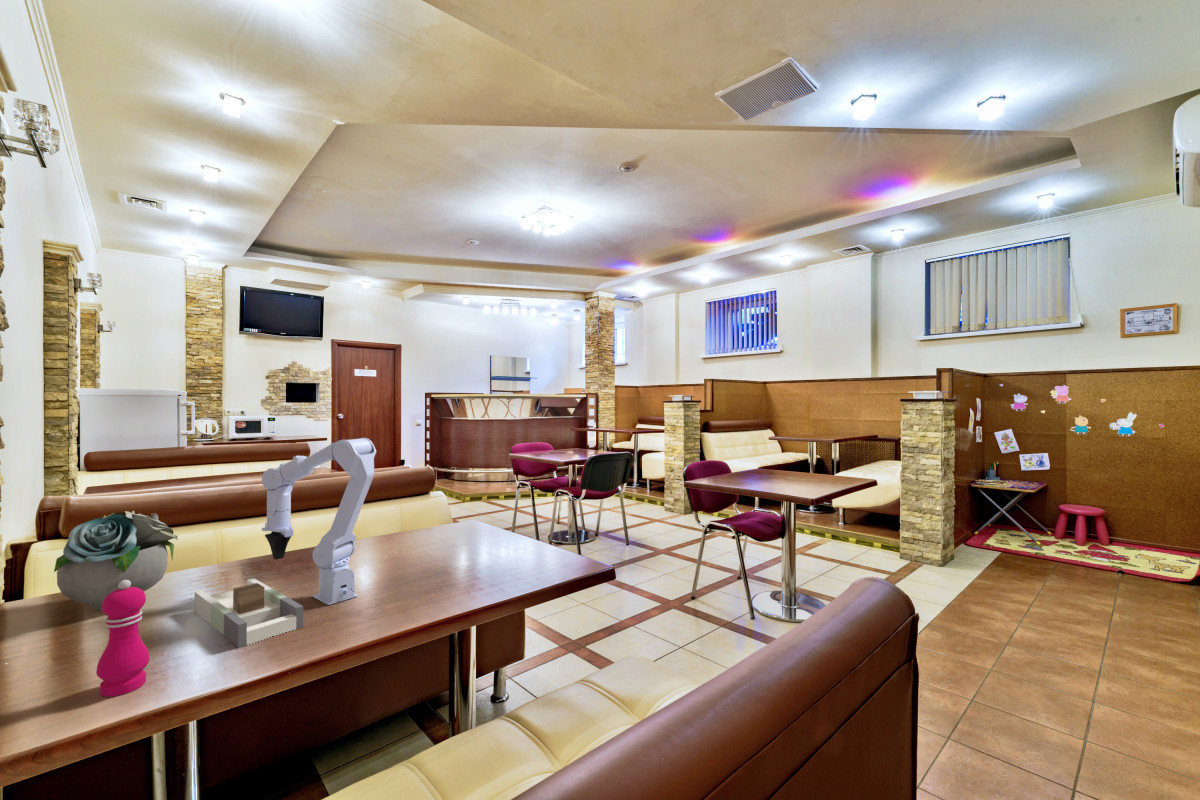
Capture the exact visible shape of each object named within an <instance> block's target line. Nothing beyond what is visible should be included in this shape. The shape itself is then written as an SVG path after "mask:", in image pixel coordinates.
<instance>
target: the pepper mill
mask: <svg viewBox="0 0 1200 800" xmlns="http://www.w3.org/2000/svg"><path fill="white" fill-rule="evenodd" d="M130 586H131V582H130V581H129V580H123V581H121V582H120V583H119V584H118V588H119V589H117V590H115V591H113V592H111V593H110V594H109V595H107V596H106V597H105V599H104V601H103V603H102V610H101V611H102V613H103V614H104V615H106V616H107V617H106V618H105V624H104V626H105V627H106V628H108V630H109V631H108V632H109V634H108V642H107V644H106V647H105V649H104V650H103V653H102V654H101V655H100V657H99V660H98V663H97V666H96V670H95V671H96V673H95V674H96V676H97V677H98V678H99V679H100V680H102V681H101V682H100V683H99V695H100V696H102V697H105V698H106V697H107V698H111V697H117V696H122V695H124V694H128V693H131V692H133V691H136V690H138V689H139V688H141V687H143V685H145V683H146V682H147V671H145V670H144V669H145V668H146V667H147V665H148V664H149V663H150V652H149V649H148V647H147V645H146V644H145V643H144V641H143V640H142V638H141V635H140V632H139V626H140V625H139V623H140V621H141V620H142V619H143V616H142V614H143V611H142V610H141V609H142V608H143V607H144V606H145V604H146V601H147V596H146V593H145V591H143V590H141V589H139V588H137V587H130Z"/></svg>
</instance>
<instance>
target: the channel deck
mask: <svg viewBox="0 0 1200 800" xmlns="http://www.w3.org/2000/svg"><path fill="white" fill-rule="evenodd" d="M254 583H258V584H260V585H261V586H263V587H264V608H261V609H258V610H254V611H250V612H247V613H243V614H239V613H238V612H236V611H235V610H234V609H233V589H232V590H231V589H230V590H228V591H227V590H226V591H224V592H219V593H216V594H211V595H210V594H208V592H207V593H206V591H204V590H203V589H200V590H196V591H194V597H193V598H194V602H193V603H194V610H193V611H194V612H195V613H196V614H197V615H198V616H200V618H202V619H203V620H204V621H205V622H207V623H208V624H209V625H210V626H211V627H212V628H213V629H215V630H216V631H217V632H218V633H220V634H221V635H222V636H224V638H226V639H227V640H228V641H230V643H231V644H233V645H234V646H235V645H236V646H235V647H237V648H238V649H240V647H241V648H243V646H244V647H246V645H247V646H250V645H253V644H255V642H256V643H259V642H262V641H265V640H267V639H266V638H268V639H270V638H269V637H271V638H273V637H272V636H275V637H277V636H276V635H278V636H280V635H279V634H281V635H283V634H282V633H284V634H286V633H285V632H287V633H289V631H290V632H293V631H296V630H299V629H302V628H304V606H303V605H302V604H300V603H298V602H297V601H295V600H293V599H292V598H290V597H289V596H286V595H285V594H282V593H281V592H279V591H277V590H276V589H274V588H272V587H270V586H269V585H266V584H265V583H264V582H261V581H259V580H258V579H256V578H254V577H251V578H247V579H246V585H250V584H254ZM292 630H293V631H292ZM264 639H265V640H264ZM261 640H262V641H261ZM258 641H259V642H258ZM252 643H253V644H252ZM249 644H250V645H249Z"/></svg>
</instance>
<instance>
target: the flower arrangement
mask: <svg viewBox="0 0 1200 800" xmlns="http://www.w3.org/2000/svg"><path fill="white" fill-rule="evenodd" d="M150 515H151V516H149V515H145V514H142V513H135V510H132V512H131V511H126V510H125V511H124V512H122V511H121V512H119V511H118V512H113V513H111V514H109V515H107V516H106V515H105V514H104V515H103V516H100V517H98V518H94V519H92V520H89V521H86V522H83V523H81V524H78V525H77V526H75V527H74V528H73V529H72V530H71V531H70V532H69V535H68V538H67V539H68V540H67V541H66V542H65V545H64V547H63V550H62V551H63V554H61V556H59V557H56V560H55V565H54V570H53V573H56V584H57V587H58V589H59V591H60V592H61V594H62V595H63V596H64V597H66V598H69V599H70V600H72V601H75V602H77V603H84V604H89V605H90V607H91V609H93V610H95V609H99V610H98V611H102V610H101V609H102V603H103V601H104V599H105V597H106V596H107V595H109V594H110V593H111V592H113V591H115V590H117V589H119V588H118V584H119V583H120V582H121V581H123V580H129V581H130V582H131V586H130V587H137V588H139V589H141V590H143V591H144V592H145V591H146V592H147V591H148V590H150V589H151V588H153V587H154V586H155V585H156V584H158V583H159V582H160V581H161V580H162V579H163V578H164V575H165V574H166V571H167V568H168V560H169V559H168V556H169V554H168V549H167V547H169V551H170V556H171V557H170V558H171V561H172V562H173V559H174V558H173V557H174V549H175V544H174V543H173V542H171V540H173V539H175V540H177V541H178V538H179V536H178V535H176V534H174V529H172V528H171V527H169V525H167V524H166V523H165V522H162V521H161V520H159V515H158V513H157V512H153V513H151V514H150Z"/></svg>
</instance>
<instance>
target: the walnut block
mask: <svg viewBox="0 0 1200 800" xmlns="http://www.w3.org/2000/svg"><path fill="white" fill-rule="evenodd" d="M232 590H233V609H234V610H235V611H236V612H238V613H239V614H243V613H247V612H250V611H254V610H258V609H261V608H264V587H263V586H261V585H260V584H258V583H254V584H250V585H247V584H246V585H242V586H238V587H235V588H233V589H232Z"/></svg>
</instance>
